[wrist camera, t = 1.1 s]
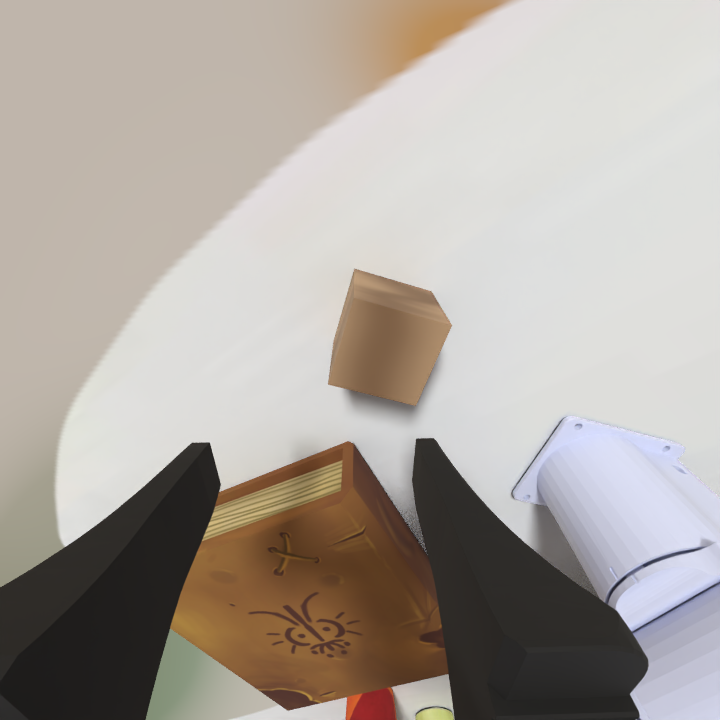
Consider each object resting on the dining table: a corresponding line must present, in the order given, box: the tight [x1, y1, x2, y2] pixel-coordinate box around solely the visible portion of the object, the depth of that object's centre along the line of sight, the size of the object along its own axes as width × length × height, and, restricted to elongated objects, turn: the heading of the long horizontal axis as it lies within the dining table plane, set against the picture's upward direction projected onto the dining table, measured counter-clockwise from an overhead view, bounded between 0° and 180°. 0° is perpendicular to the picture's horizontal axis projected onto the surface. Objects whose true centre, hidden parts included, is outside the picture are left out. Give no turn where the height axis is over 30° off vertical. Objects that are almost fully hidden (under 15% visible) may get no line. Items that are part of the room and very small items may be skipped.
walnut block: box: [328, 269, 452, 406], centre depth 19 cm, size 4×4×5 cm
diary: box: [170, 442, 449, 710], centre depth 30 cm, size 23×19×6 cm
